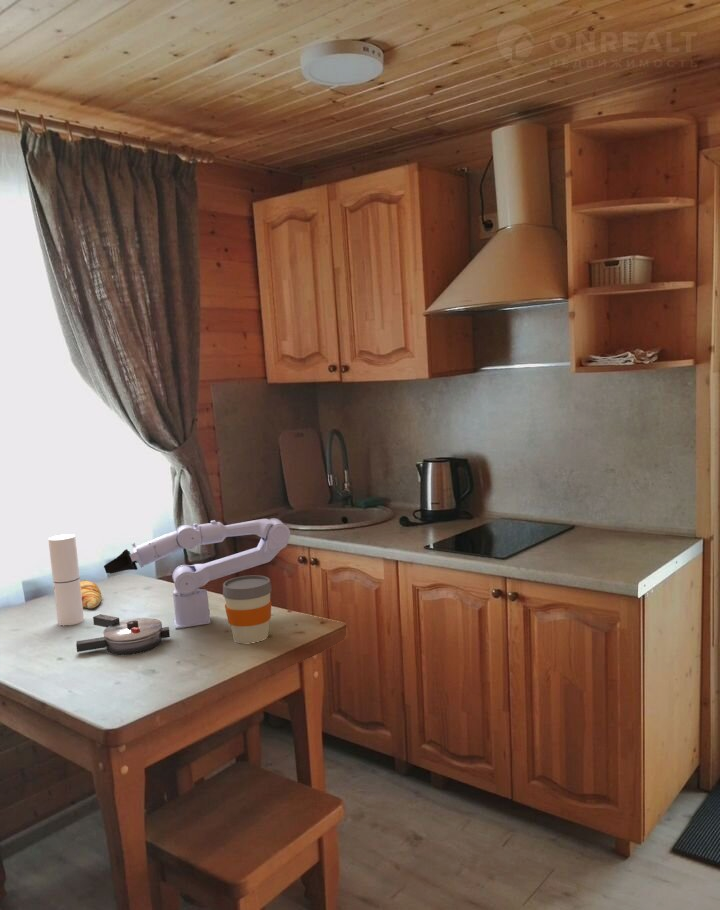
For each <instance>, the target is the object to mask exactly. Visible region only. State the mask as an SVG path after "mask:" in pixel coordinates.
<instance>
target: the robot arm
mask: <svg viewBox="0 0 720 910" xmlns="http://www.w3.org/2000/svg"><path fill="white" fill-rule="evenodd" d="M249 535H256V536H257V537H260V540H259V542H258V543H257V546H256V547H253V548H250V549H246V550H244V551H240V552H238V553H234V554H231V555H227V556H225V557H222V558H219V559H215V560H212V561H208V562H205V563H195V564H191V565H189V564H182V565H178V566H177V567H176V568H175V569H174V570H173V572H172V581H173V582H174V587H175V588H174V590H172V594H173V595H172V598H173V606H174V607H173V608H174V616H175V617H174V618H173V624H174V627H175V629H176V630H177V629H183V628H184V629H185V628H189V627H197V626H202V625H209V624H211V617H210V615H211V613H210V612H211V611H210V605H209V596H208V590H207V589H205V588H204V589H200V588H202V587H204V586H205V585H207V584H208V582H211V581H214V580H217V579H220V578H222V577H223V578H224V577H227V576H230V575H232V574H236V573H240V572H242V571H245V570H248V569H251V568H254V567H257V566H261V565H263V564H267V563H270V562H271V561H272V560H273V559H274V558H275V557H276V556H277V555H278V554H279V553H280V551H281V550H283V549H285V548H286V547H287V546H288V543H289V541H290V538H291V530H290V528H289V526H288V525H286V524H285V523H283V521H282V520H281V519H279V518H275V517H274V518H273V517H272V518H269V519H268V518H260V519H255V520H248V521H241V522H237V523H231V524H227V525H224V524H223V523H222V522H221V521H217V520H215V519H213V520H210V523H208V522H207V523H202V524H198V523H197V522H196V523H193V525H189V524H181V525H179V526H178V527H177V528H176V530H174V531H171V532H168V533H165V534H163V535H161V536H158V537H156V538H154V539H151V540H149V541H146V542H144V543H142V544H139V545H136V543H135V542H132V543H131V545H132V550H133V552H132V553H131V551H130V550H128V549H127V548H126V549H124V550H123V551H122V552H121V553H120V554H119V555H117V557H115V558H114V559H112V560H111V561H109V562H108V563H106V564H105V565H103V569H104V571H105V573H106V574H116V573H119V572H123V571H137V570H138V566H137V564H138V565H139V567H140V568H144V566H147V565H149V564H152V563H154V562H156V561H159V560H161V559H163V558H166V557H168V556H171V555H173V554H175V553H177V552H179V551H182V550H184V549H186V550H188V549H189V550H192V549H194V548H196V547H197V546H202V545H203V546H204V545H210V544H211V545H212V544H217V543H222V542H224V540H225V539H226V538H228V537H238V536H249Z"/></svg>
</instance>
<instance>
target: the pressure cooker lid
mask: <svg viewBox="0 0 720 910" xmlns="http://www.w3.org/2000/svg"><path fill="white" fill-rule="evenodd" d="M92 620H93V625H94V626H98V627H103V628H105V629H104V630H103V637H104V638H105V639H107V640H110V641H116V642H125V641H134V640H139V639H143V638H147V637H150V636H152V635H155V634H156V633H158V632H159V631H161V629H162V628H163V623H162V621H161V620H160V619H156V618H153V617H139V618H131V619H126V620H122V621H120V617H117V616H112V615H108V614H107V615H105V614H97V615H94V616H93V617H92Z"/></svg>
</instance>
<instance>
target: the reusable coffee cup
mask: <svg viewBox="0 0 720 910" xmlns="http://www.w3.org/2000/svg"><path fill="white" fill-rule="evenodd" d="M272 590H273V589H272V584H271V580H270V577H267V576H265V575H258V574H257V575H255V574H254V575H243V576H237V577H233V578H230V579H227V580H226V581H224V582H223V583H222V596H223V597H224V601H225V605H224V608H225V613H226V617H227V622H228V624H229V625H230V628H231V633H232V638H233V642H235V641H236V642H239V643H252V642H257V641H261V640H263V639H265V638H267V637H269V631H270V630H269V628H270V627H269V626H270V619H271V617H272V599H271V592H272ZM267 639H268V638H267ZM236 642H235V643H236ZM239 643H238V644H239Z"/></svg>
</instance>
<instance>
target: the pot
mask: <svg viewBox="0 0 720 910" xmlns="http://www.w3.org/2000/svg"><path fill="white" fill-rule="evenodd" d="M170 632H171V631H170V627H169V626H165V627H162V629H161V631H159V632H158V633H156V634H155V635H152V636H150V637H147V638H143V639H139V640H134V641H125V642H116V641H110V640H107V639H105V638H104V636H101V637H96V638H88V639H83V640H82V639H81V640H76V644H75V646H76V652H77V653H80V652H86V651H93V650H99V649H105V650H106V652H107V653H109V654H111V655H115V656H133V655H138V654H143V653H147V652H149V651H152V650H154V649H156V648H158V647H159V646H160V645H162V644H163V639H167V638H171V635H170Z"/></svg>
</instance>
